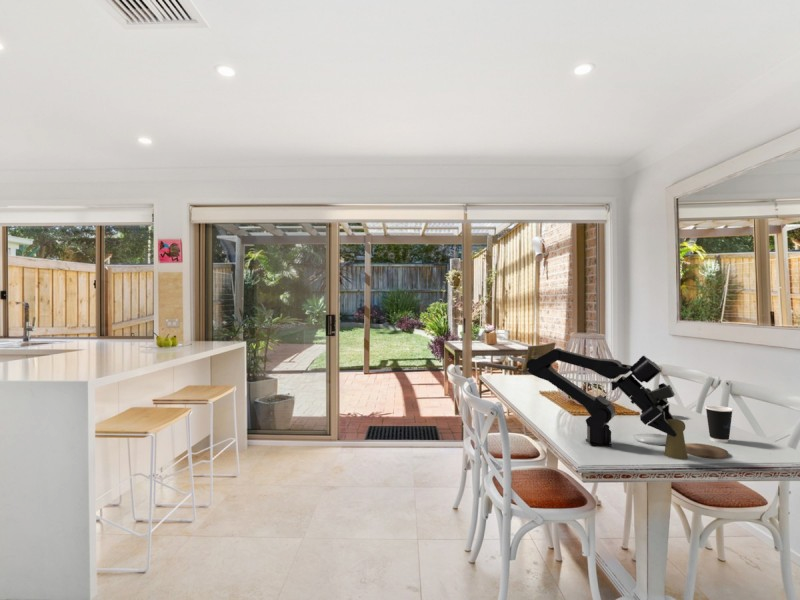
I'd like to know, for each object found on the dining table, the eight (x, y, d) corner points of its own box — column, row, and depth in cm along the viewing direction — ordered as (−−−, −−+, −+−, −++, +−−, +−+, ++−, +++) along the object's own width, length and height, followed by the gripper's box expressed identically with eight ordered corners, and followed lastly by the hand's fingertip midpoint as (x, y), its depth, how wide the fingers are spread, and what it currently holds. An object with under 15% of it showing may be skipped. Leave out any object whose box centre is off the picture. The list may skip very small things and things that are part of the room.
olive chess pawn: (678, 452, 142) (678, 417, 142) (692, 459, 136) (691, 422, 136) (659, 452, 142) (659, 417, 142) (672, 459, 136) (671, 422, 136)
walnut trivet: (694, 457, 137) (694, 454, 137) (674, 445, 149) (674, 442, 149) (737, 459, 136) (737, 455, 136) (714, 447, 147) (713, 443, 147)
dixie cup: (735, 445, 149) (735, 411, 150) (706, 441, 153) (706, 409, 153) (732, 439, 156) (731, 407, 156) (704, 436, 160) (703, 404, 160)
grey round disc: (651, 446, 148) (651, 443, 148) (626, 437, 160) (625, 434, 160) (682, 443, 151) (682, 440, 151) (655, 435, 162) (655, 432, 162)
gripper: (651, 379, 134) (697, 422, 127) (660, 372, 149) (701, 410, 142) (623, 403, 139) (665, 446, 132) (633, 393, 154) (672, 431, 147)
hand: (677, 432), depth 138 cm, fingers open, 9 cm apart
